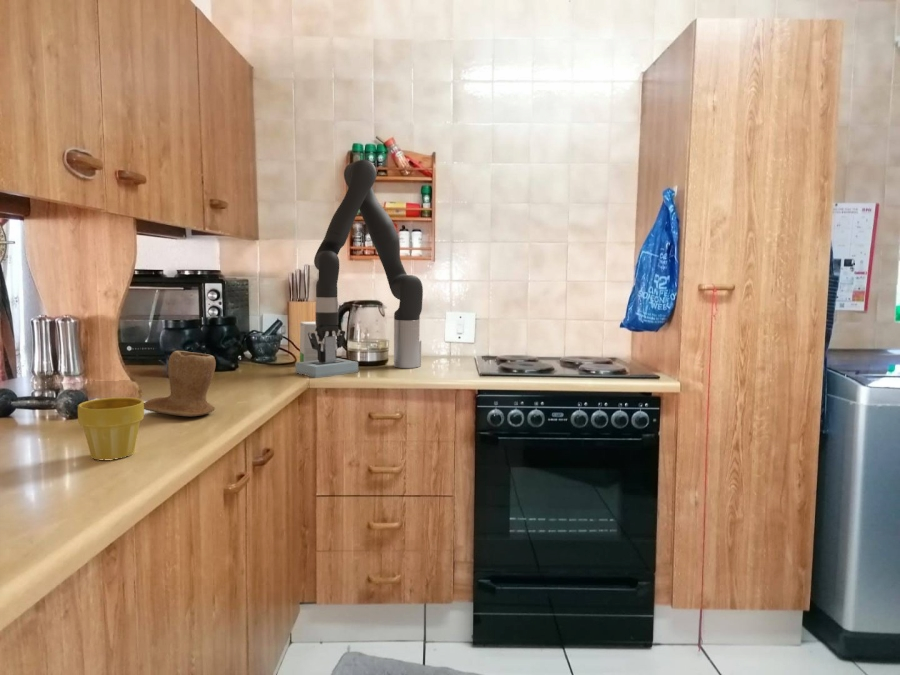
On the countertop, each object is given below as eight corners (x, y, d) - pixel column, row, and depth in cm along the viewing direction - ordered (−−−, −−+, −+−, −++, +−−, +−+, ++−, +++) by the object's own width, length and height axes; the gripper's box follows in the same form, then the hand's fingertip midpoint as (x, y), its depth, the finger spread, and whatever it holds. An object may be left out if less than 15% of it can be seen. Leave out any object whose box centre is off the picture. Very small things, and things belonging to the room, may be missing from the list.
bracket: (334, 363, 201) (334, 334, 200) (341, 364, 198) (341, 335, 197) (312, 366, 194) (312, 336, 193) (319, 367, 192) (319, 337, 191)
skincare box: (299, 363, 216) (299, 321, 215) (317, 362, 219) (317, 321, 217) (304, 366, 209) (303, 323, 207) (322, 365, 211) (322, 322, 210)
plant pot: (158, 448, 110) (156, 398, 108) (118, 466, 99) (116, 410, 98) (109, 445, 111) (107, 395, 110) (65, 462, 101) (62, 407, 100)
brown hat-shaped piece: (228, 411, 139) (226, 350, 138) (188, 423, 128) (186, 356, 127) (181, 405, 145) (179, 346, 144) (139, 415, 134) (137, 351, 133)
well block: (337, 367, 207) (337, 358, 206) (358, 371, 199) (358, 361, 198) (295, 373, 195) (295, 362, 194) (315, 377, 186) (315, 367, 186)
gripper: (315, 312, 187) (315, 364, 188) (350, 310, 197) (351, 360, 199) (302, 310, 192) (302, 362, 194) (337, 309, 202) (338, 358, 204)
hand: (327, 361), depth 196 cm, fingers closed on bracket, 4 cm apart
